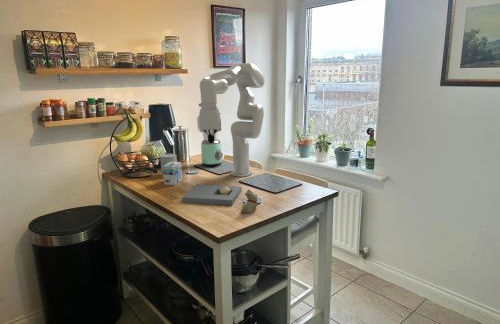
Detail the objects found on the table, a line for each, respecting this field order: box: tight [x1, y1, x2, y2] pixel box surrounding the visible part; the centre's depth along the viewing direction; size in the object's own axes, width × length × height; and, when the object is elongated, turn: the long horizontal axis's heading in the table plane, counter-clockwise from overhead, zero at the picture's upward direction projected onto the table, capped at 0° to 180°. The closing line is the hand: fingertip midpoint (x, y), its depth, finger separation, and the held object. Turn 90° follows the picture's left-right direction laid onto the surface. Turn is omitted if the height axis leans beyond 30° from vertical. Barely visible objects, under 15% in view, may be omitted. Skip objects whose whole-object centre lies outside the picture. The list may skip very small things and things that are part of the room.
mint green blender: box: [196, 115, 224, 167], centre depth 227 cm, size 19×13×35 cm
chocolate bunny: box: [240, 188, 259, 214], centre depth 151 cm, size 6×8×10 cm
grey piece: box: [159, 153, 178, 178], centre depth 206 cm, size 10×10×12 cm
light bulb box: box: [163, 161, 183, 186], centre depth 192 cm, size 11×7×11 cm, turn 168°
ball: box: [219, 185, 230, 195], centre depth 170 cm, size 5×5×5 cm
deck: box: [181, 184, 243, 206], centre depth 170 cm, size 20×24×2 cm
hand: (211, 142), depth 174 cm, fingers closed
